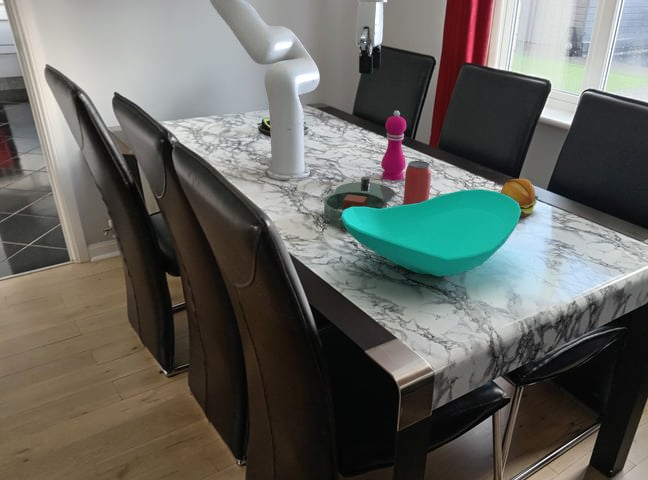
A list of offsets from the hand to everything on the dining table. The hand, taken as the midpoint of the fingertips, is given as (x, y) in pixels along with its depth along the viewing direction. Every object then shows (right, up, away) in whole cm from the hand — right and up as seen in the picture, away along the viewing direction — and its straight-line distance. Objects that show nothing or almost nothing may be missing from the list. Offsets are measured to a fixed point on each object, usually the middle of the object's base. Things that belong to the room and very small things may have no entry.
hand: (369, 70), depth 145 cm
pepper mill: (+6, -22, +27) cm, 36 cm away
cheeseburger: (+39, -35, +9) cm, 53 cm away
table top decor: (+13, -51, -22) cm, 57 cm away
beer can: (+12, -34, +8) cm, 37 cm away
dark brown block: (-4, -37, -2) cm, 37 cm away
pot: (-4, -38, -1) cm, 38 cm away
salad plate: (-34, +2, +67) cm, 75 cm away
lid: (-2, -29, +13) cm, 32 cm away
